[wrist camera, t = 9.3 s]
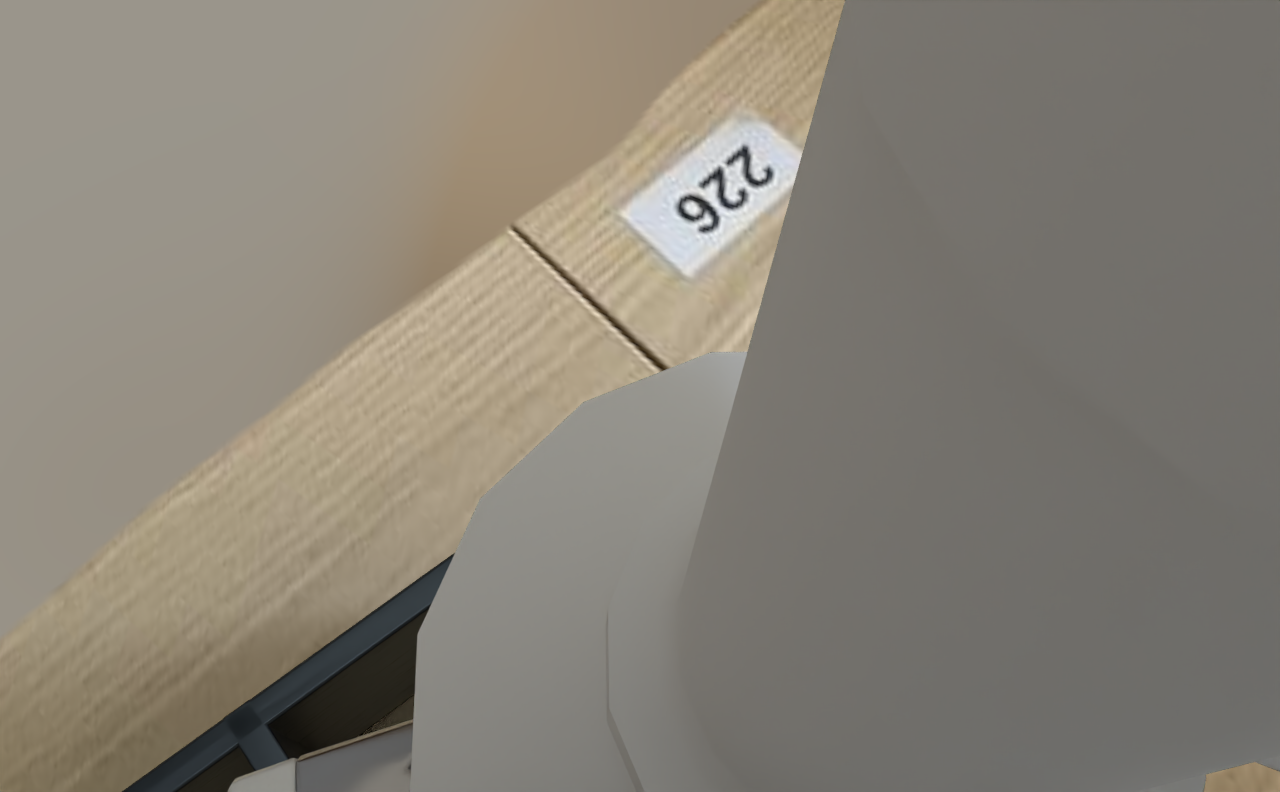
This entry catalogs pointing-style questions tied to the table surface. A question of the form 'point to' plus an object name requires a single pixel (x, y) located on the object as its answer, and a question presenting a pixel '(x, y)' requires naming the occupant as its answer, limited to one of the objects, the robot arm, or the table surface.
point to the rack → (311, 699)
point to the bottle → (926, 451)
